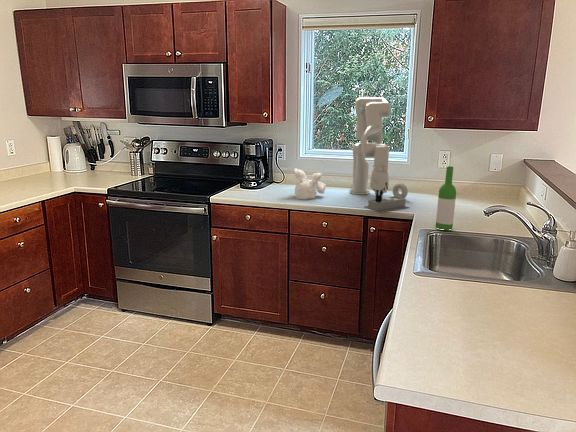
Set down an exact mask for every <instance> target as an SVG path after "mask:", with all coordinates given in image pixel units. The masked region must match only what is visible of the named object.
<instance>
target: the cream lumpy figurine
mask: <svg viewBox="0 0 576 432" xmlns="http://www.w3.org/2000/svg"><path fill="white" fill-rule="evenodd" d="M293 171H294V172H293V173H294V176H295V179H296V180H297V181H300V182H298V183H296V185H295V187H294V194H295V199H296V200H305V201H306V200H312V199H315V198H316V195H317V194H320V195H321V194H324V193H325V192H326V186H327V184H326V183H324V182H321V178H322V175H323V172H314V173H313V174H312V175H311V177H310V179H309V178H308V179H307V175H306V173H305V171H303V170H302V169H300V168H299V169H298V168H296V167H294V169H293ZM317 192H318V193H317Z"/></svg>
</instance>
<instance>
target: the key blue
mask: <svg viewBox="0 0 576 432" xmlns="http://www.w3.org/2000/svg"><path fill="white" fill-rule="evenodd" d="M388 197H389V196H387V197H382V200H385V201H392V200H393V199H392V198H388Z"/></svg>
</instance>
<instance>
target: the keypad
mask: <svg viewBox="0 0 576 432" xmlns="http://www.w3.org/2000/svg"><path fill="white" fill-rule="evenodd" d="M387 197H388V198H398V200H395V199H393V200H392V201H385V200H382V202H379V203H378V202H375V200H376V198H373V199H367V201H368V203H367V205H364V206H363V207H364V208H367V209H368V210H369V209H370V210H372V211H376V212H378V213H382V214H383V213H388V212H393V211H399V210H400V211H401V210H405V209H406V210H407V209H409V208H410V207H409V206H406V202H407V201H406V198H400V197H397V196H394V195H393V196H387Z"/></svg>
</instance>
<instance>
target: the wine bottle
mask: <svg viewBox="0 0 576 432" xmlns="http://www.w3.org/2000/svg"><path fill="white" fill-rule="evenodd" d="M445 172H446V173H445V179H444V180H445V181H444V184H442V185H441V186H440V188H439V189H438V199H437V205H436V206H437V208H436V217H435V229H436V228H439V229H444V230H449V229H453V227H454V225H453V224H454V217H455V207H456V198H457V197H456V196H457V188H456V187H455V186H454V184H453V177H454V176H453V175H454V166H452V165H451V166H450V165H449V166H446V170H445Z"/></svg>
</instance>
